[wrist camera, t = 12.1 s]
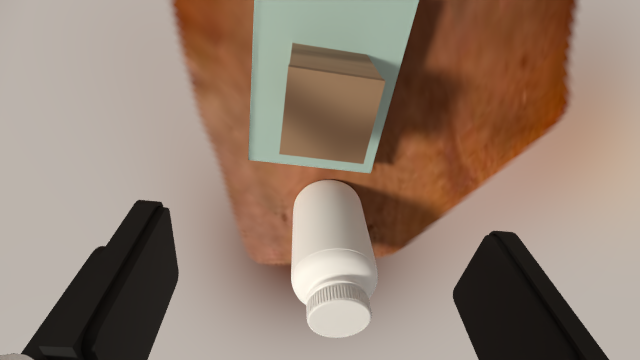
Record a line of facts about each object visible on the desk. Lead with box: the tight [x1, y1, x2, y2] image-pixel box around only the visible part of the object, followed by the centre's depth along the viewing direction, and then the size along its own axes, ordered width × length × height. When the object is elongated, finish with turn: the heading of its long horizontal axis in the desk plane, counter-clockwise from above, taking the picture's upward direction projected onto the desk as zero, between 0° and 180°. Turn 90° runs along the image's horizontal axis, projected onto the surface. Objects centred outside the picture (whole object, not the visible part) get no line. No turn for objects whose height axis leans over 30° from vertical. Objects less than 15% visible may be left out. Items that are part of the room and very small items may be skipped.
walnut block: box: [279, 43, 386, 164], centre depth 25 cm, size 6×6×7 cm
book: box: [248, 0, 419, 173], centre depth 29 cm, size 12×16×4 cm
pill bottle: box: [291, 180, 378, 338], centre depth 33 cm, size 8×8×15 cm
